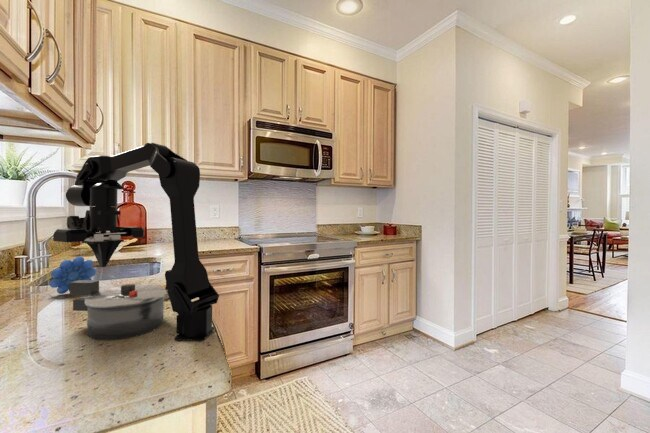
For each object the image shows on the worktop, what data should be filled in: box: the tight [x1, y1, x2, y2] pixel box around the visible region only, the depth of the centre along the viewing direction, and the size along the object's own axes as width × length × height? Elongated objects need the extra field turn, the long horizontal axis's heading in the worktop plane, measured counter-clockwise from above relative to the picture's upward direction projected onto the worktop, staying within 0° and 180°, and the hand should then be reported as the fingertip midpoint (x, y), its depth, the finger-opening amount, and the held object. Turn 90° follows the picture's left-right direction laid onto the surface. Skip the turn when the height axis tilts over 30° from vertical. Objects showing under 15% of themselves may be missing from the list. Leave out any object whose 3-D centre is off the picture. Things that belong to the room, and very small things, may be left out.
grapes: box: [49, 256, 97, 295], centre depth 97 cm, size 12×7×12 cm, turn 129°
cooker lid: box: [69, 280, 166, 308], centre depth 70 cm, size 21×16×4 cm
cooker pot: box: [72, 296, 165, 341], centre depth 70 cm, size 20×15×7 cm
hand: (102, 266), depth 76 cm, fingers closed
